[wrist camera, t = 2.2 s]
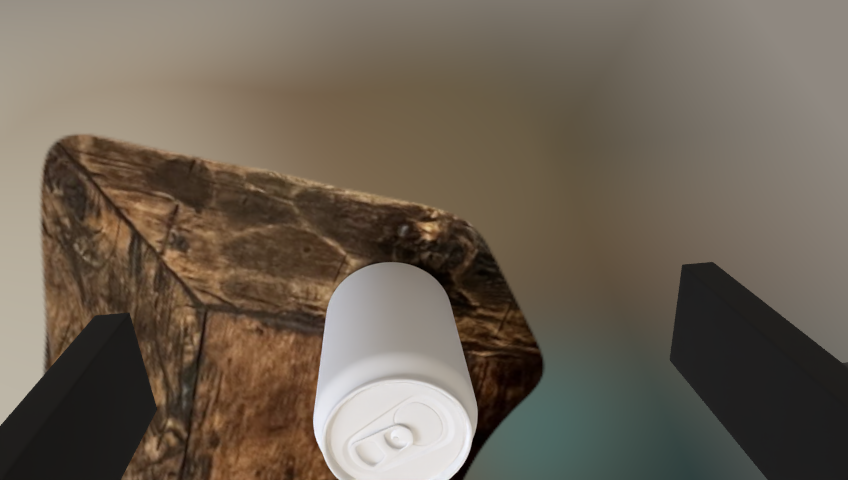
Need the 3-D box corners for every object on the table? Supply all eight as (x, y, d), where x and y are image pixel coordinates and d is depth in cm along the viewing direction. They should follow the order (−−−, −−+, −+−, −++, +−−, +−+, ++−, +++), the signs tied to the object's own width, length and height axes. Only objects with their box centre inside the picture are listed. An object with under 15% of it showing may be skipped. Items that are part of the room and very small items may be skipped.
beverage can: (471, 327, 39) (512, 457, 28) (370, 383, 41) (372, 529, 30) (409, 234, 36) (427, 339, 25) (302, 298, 37) (274, 425, 26)
